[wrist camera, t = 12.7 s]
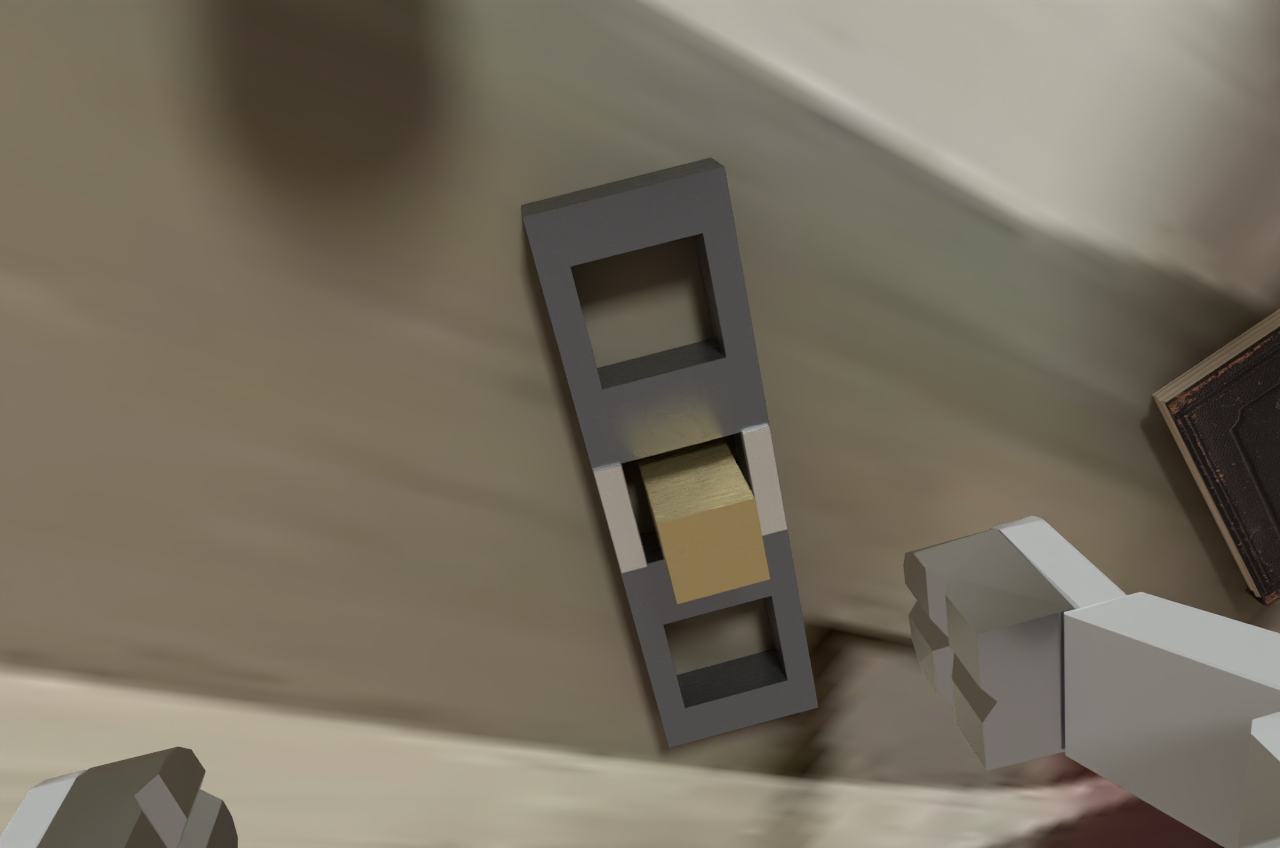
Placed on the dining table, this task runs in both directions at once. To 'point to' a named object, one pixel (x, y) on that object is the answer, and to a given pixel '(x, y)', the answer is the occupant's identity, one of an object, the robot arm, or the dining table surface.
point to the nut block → (704, 520)
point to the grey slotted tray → (677, 433)
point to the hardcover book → (1236, 446)
